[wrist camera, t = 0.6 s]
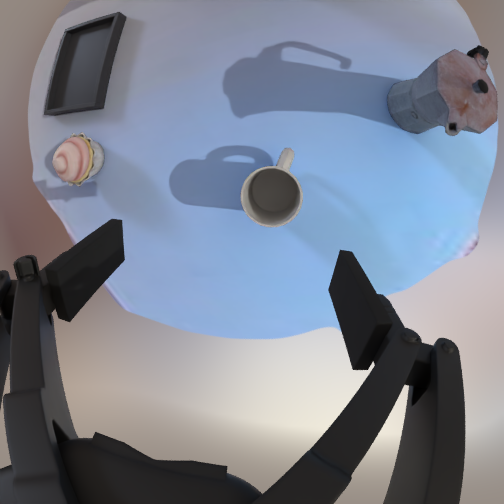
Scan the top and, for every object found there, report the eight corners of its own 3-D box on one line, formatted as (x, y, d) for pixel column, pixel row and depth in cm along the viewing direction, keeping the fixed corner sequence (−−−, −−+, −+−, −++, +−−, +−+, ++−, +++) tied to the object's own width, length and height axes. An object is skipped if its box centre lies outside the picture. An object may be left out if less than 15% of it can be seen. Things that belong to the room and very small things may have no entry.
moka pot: (368, 126, 35) (434, 101, 16) (400, 54, 30) (461, 4, 11) (417, 159, 35) (500, 165, 17) (445, 88, 30) (520, 62, 12)
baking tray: (72, 32, 33) (65, 29, 30) (126, 17, 32) (119, 11, 29) (52, 115, 39) (43, 114, 36) (103, 108, 38) (94, 106, 35)
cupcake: (120, 157, 41) (84, 158, 31) (91, 193, 43) (54, 203, 34) (95, 122, 39) (58, 118, 30) (68, 159, 42) (31, 163, 32)
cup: (242, 204, 41) (232, 214, 33) (266, 141, 38) (261, 134, 29) (288, 221, 41) (289, 236, 33) (312, 159, 38) (320, 157, 29)
